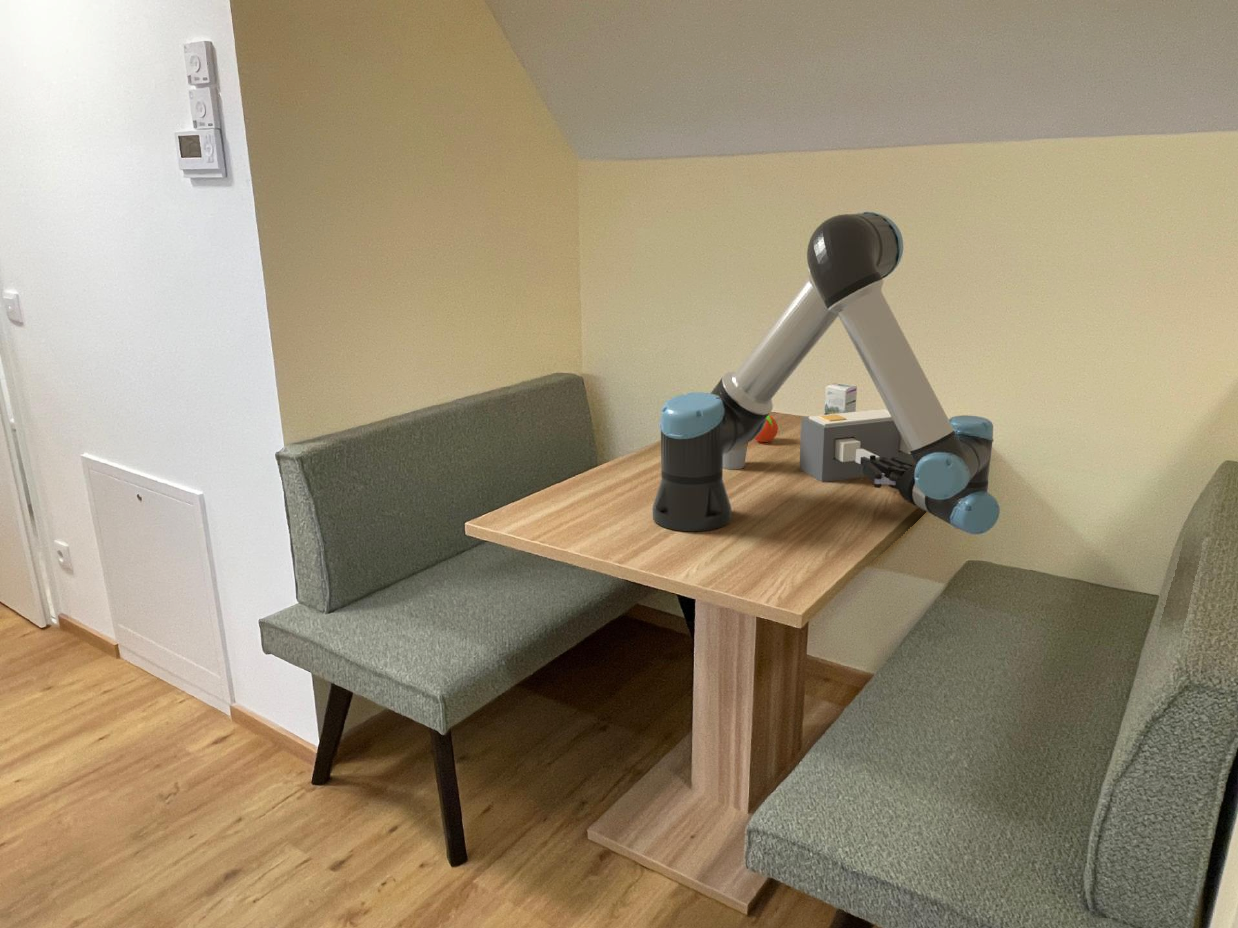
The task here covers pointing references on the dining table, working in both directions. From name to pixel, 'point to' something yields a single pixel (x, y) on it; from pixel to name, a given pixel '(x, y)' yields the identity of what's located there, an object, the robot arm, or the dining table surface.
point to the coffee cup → (735, 458)
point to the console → (862, 426)
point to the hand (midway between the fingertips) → (859, 455)
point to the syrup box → (840, 398)
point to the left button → (846, 449)
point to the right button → (903, 446)
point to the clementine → (768, 430)
